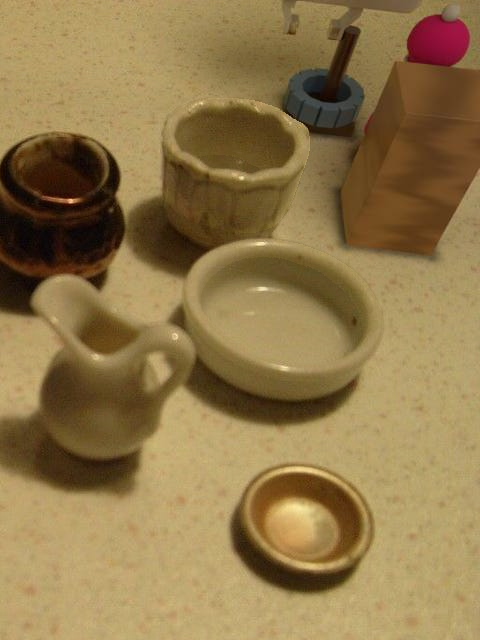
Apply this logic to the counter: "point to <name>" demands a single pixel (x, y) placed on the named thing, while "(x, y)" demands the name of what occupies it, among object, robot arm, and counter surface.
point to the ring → (322, 111)
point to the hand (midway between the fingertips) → (311, 35)
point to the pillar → (414, 159)
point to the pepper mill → (437, 40)
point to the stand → (336, 80)
